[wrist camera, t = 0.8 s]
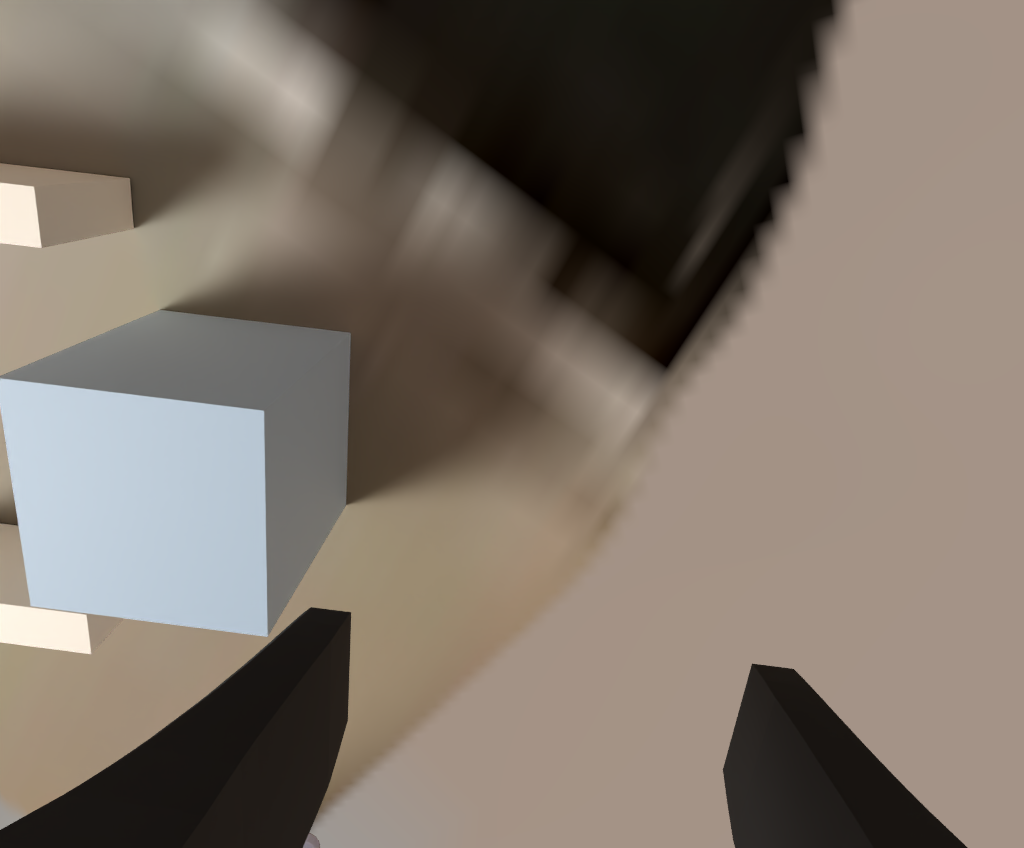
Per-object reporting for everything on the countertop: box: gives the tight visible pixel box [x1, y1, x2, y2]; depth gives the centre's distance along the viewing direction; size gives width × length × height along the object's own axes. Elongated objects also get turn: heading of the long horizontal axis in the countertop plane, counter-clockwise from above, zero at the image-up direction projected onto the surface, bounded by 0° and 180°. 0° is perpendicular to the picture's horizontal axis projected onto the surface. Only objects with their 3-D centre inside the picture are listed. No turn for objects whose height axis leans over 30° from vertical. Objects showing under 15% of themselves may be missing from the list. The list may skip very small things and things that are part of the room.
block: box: [0, 310, 351, 637], centre depth 17 cm, size 5×5×6 cm
